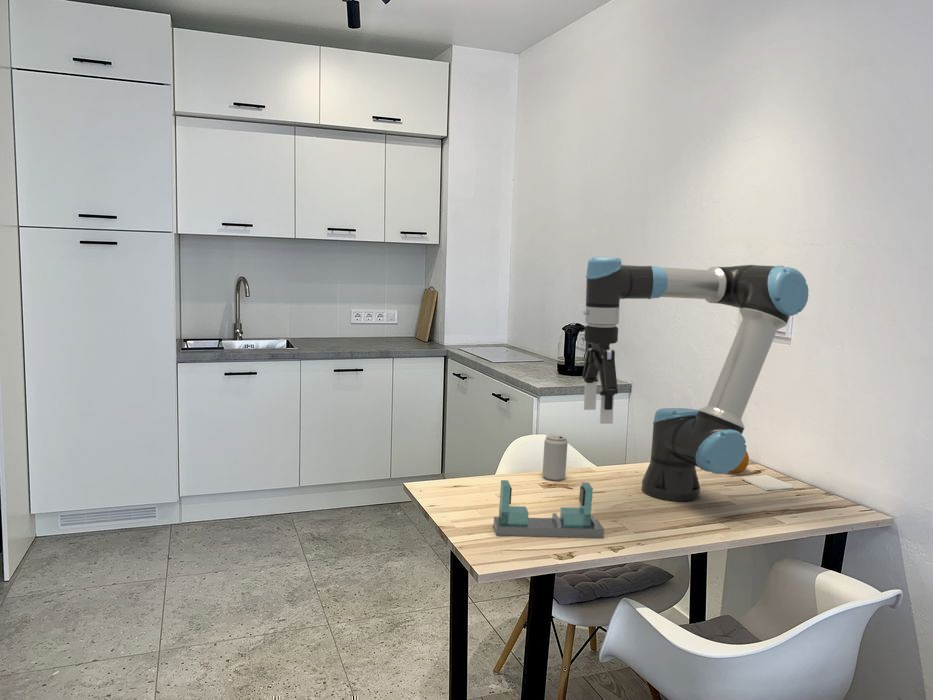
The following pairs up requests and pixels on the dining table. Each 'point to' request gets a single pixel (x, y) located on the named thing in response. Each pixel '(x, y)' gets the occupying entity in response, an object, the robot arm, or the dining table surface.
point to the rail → (536, 521)
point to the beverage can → (555, 457)
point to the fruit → (741, 464)
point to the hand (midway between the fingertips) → (597, 416)
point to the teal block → (579, 509)
